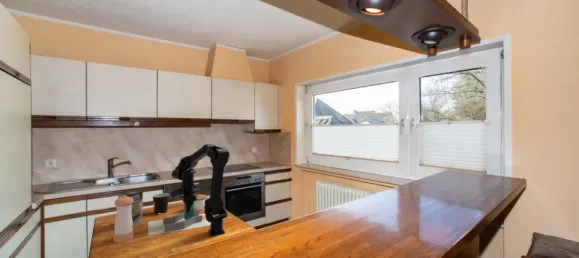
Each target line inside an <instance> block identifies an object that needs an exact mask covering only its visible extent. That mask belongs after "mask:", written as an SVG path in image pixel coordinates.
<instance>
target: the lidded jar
mask: <svg viewBox="0 0 579 258" xmlns="http://www.w3.org/2000/svg"><path fill="white" fill-rule="evenodd" d="M195 195H196V197H197V200H196V201H194V210H199V212H200V211H202V210H203V209H205V208H204V206H205V200H206V199H208V195H206V194H199V193H197V194H195Z"/></svg>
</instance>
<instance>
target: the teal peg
mask: <svg viewBox="0 0 579 258" xmlns="http://www.w3.org/2000/svg"><path fill="white" fill-rule="evenodd" d="M183 203H184V202H183ZM183 209H184V211H183V212H184V219H185V220H188V219H190V218H192V217H193V216H194V203H193V205H192V207H191V209H190V211H189V212H187V211H186V206H185V203H184V204H183Z"/></svg>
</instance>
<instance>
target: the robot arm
mask: <svg viewBox="0 0 579 258" xmlns="http://www.w3.org/2000/svg"><path fill="white" fill-rule="evenodd" d="M206 157H208V158H210V163H211V166H212V174H211V184H210V193H209V197H208V198H207V199H206V200H205V206H204V208H203V209H204V214H205V216H206V221H208V222H210V226H209V228H210V229H208V230H207V231H208V233H209V235H210V236H216V235H217V236H218V235H222V234H225V233H226V231H225V230H224V219H227V218H228V212H227V210H226V208H225V207H224V200H223V198H222V189H223V188H222V187H223V180H224V169H225V166H226V165H227V164H228V163H229V158H230V151H229V150H228V149H227V148H223V147H222V146H221V147H220V146H217V145H214V144H212V143H206V144H203V146H202V147H200V148H198V150H196V151H194V152H193V153H192V154H190V155H187V156H184V157H181V158H180V160H179V162H178V165H177V166H175V168H174V170H172V172H171V177H172V178H173V179H174V180H179V181H181V183H180V185H179V186H176V187H174V188H172V189H170V190H169V193H170V194H169V195H170V196H171V198H172V199H173V198H175V197H177V196H179V197H180V199H181V201H182V202H183V203H185V206H186V211H187V212H189V211H190V209H191V207H192V205H193V203H194V201H196V200H197V197H196V195H197V194H195V191H194V186H195V183H194V182H195V181H194V179H195V177H194V175H195V174H196V173H197V171H196V170H195V169H194V168H195V167H196V166H197V165H198V164H199V162H200V160H202V159H204V158H206Z"/></svg>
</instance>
